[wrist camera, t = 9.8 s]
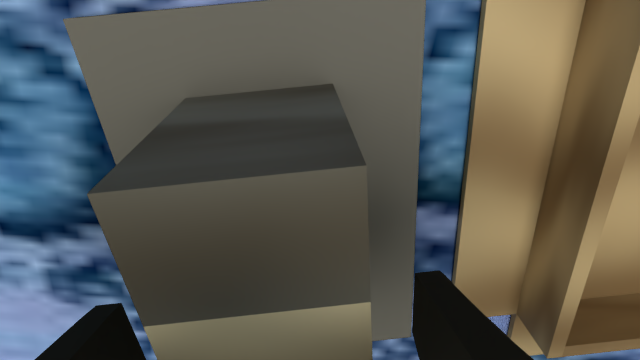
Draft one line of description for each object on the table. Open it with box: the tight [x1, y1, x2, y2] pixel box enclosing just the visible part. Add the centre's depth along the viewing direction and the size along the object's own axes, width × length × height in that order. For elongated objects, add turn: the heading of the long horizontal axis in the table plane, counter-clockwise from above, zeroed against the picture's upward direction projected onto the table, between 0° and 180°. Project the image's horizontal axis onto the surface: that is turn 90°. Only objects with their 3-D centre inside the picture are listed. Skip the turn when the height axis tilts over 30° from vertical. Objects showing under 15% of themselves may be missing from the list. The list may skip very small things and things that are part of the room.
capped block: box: [87, 84, 372, 360], centre depth 11 cm, size 9×4×6 cm, turn 5°
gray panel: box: [63, 0, 426, 341], centre depth 14 cm, size 14×10×1 cm
